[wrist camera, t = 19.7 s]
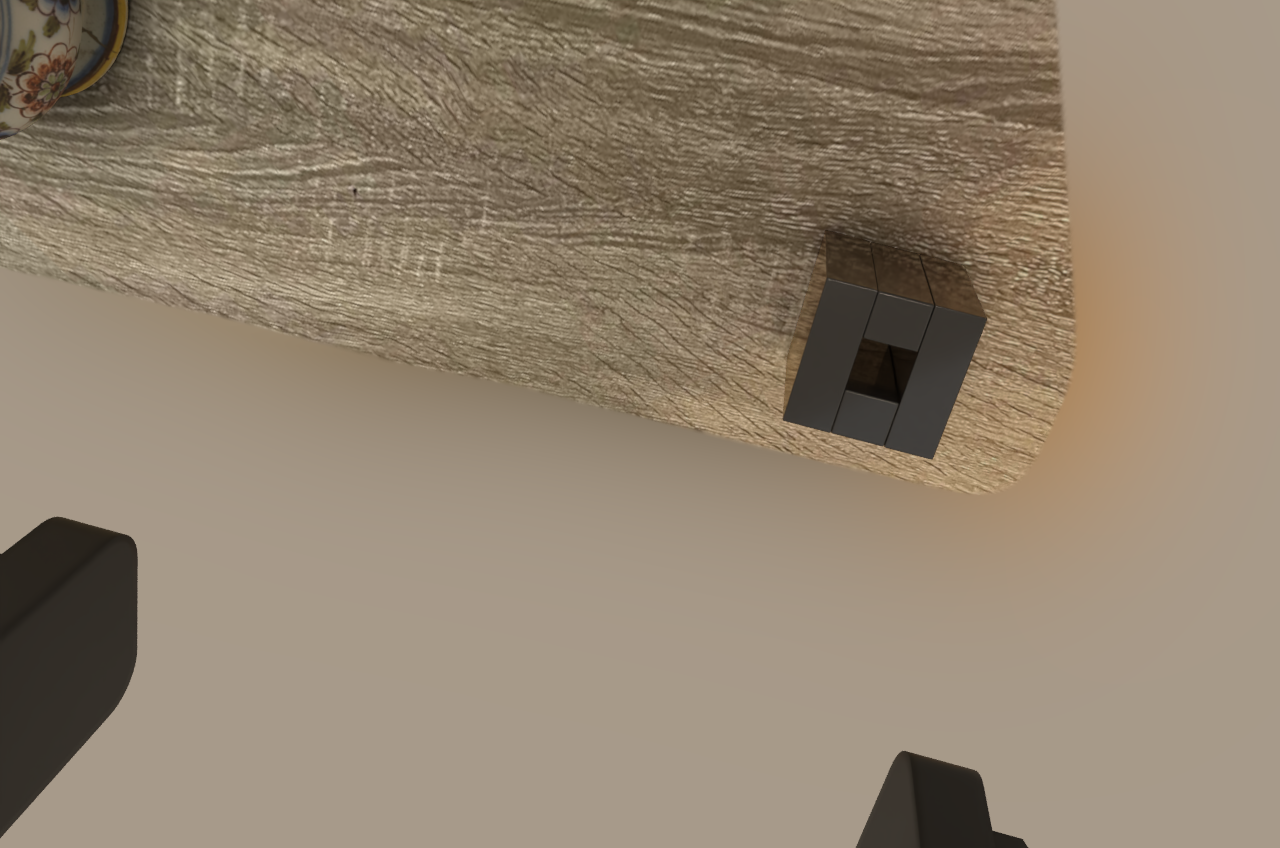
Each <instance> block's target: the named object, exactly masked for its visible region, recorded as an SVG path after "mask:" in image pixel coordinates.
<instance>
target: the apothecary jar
mask: <svg viewBox="0 0 1280 848" xmlns="http://www.w3.org/2000/svg"><path fill="white" fill-rule="evenodd" d="M127 23H128V0H0V140H1V139H4V138H7V137H10V136H12V135H14V134H16V133H18V132H20V131H22V130H24V129H26V128H27V127H29V126H31V125H32V124H33V123H35V122H36V121H37V120H39V119H40V118H41V117H42V116H43V115H44V114H46V113H47V112H48V111H49V110H50V108H51V107H52V106H53V105H54V104H55V103H56V102H57V100H58V99H59V98H60V97H63V96H68V95H72V94H75V93H78V92H81V91H83V90H85V89H86V88H88V87H90V86H91V85H93V84H94V83H95V82H97V81H98V80H99V79H100V78H101V77H103V76H104V75H105V74H106V72H107V71H108V70H109V69H110V67H111V66H112V64H113V63H114V61H115V59H116V57H117V55H118V53H119V52H120V50H121V48H122V44H123V41H124V38H125V34H126V29H127Z"/></svg>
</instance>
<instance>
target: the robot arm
mask: <svg viewBox="0 0 1280 848" xmlns="http://www.w3.org/2000/svg"><path fill="white" fill-rule="evenodd" d="M137 558H138V557H137V548H136V544H135V542H134V540H133V539H132V538H131V537H129V536H128V535H125V534H121V533H117V532H113V531H110V530H106V529H103V528H99V527H95V526H92V525H88V524H85V523H81V522H77V521H74V520H70V519H66V518H63V517H53V518H51V519H48V520H46V521H44V522H43V523H41V524H40V525H39V526H38V527H36V528H35V529H33V530H32V531H31V532H30V533H29V534H27V535H26V536H25V537H23V538H22V539H21V540H19V541H18V542H17V543H15V544H14V545H13V546H12V547H10V548H9V549H8V550H6V551H5V552H4V553H3V554H0V838H1V837H2V836H3V834H4V833H5V832H6V831H7V830H8V829H9V828H10V827H11V826H12V824H13V823H14V822H15V821H16V820H17V819H18V818H19V817H20V815H21V814H22V813H23V812H24V811H25V810H26V809H27V808H28V806H29V805H30V804H31V803H32V802H33V801H34V800H35V799H36V797H37V796H38V795H39V794H40V793H41V792H42V791H43V790H44V789H45V787H46V786H47V785H48V784H49V783H50V782H51V781H52V780H53V778H54V777H55V776H56V775H57V774H58V773H59V772H60V771H61V769H62V768H63V767H64V766H65V765H66V764H67V763H68V762H69V761H70V759H71V758H72V757H73V756H74V755H75V754H76V753H77V751H78V750H79V749H80V748H81V747H82V746H83V745H84V744H85V743H86V741H87V740H88V739H89V738H90V737H91V736H92V735H93V734H94V732H95V731H96V730H97V729H98V728H99V727H100V726H101V725H102V723H103V722H104V721H105V720H106V719H107V718H108V717H109V715H110V714H111V713H112V712H113V711H114V709H115V708H116V707H117V705H118V704H119V702H120V700H121V699H122V697H123V695H124V693H125V691H126V689H127V687H128V685H129V682H130V679H131V677H132V674H133V671H134V667H135V663H136V657H137V566H138V559H137ZM856 848H1028V847H1027V845H1026V844H1025V842H1024V841H1023V839H1020V838H1017V837H1013V836H1009V835H1006V834H1002V833H998V832H995V831H992V827H991V822H990V817H989V812H988V806H987V801H986V796H985V791H984V786H983V782H982V779H981V777H980V774H979V773H978V772H977V771H975V770H972V769H968V768H965V767H961V766H958V765H954V764H950V763H946V762H943V761H939V760H936V759H932V758H929V757H924V756H921V755H917V754H914V753H910V752H906V751H902V752H900V753H899V754H898V755H897V757H896V758H895V760H894V762H893V764H892V766H891V768H890V770H889V773H888V775H887V777H886V779H885V782H884V784H883V786H882V789H881V791H880V793H879V796H878V798H877V800H876V803H875V805H874V807H873V809H872V812H871V814H870V816H869V818H868V821H867V823H866V825H865V828H864V830H863V832H862V835H861V837H860V839H859V842H858V844H857V846H856Z"/></svg>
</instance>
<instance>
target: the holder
mask: <svg viewBox="0 0 1280 848" xmlns="http://www.w3.org/2000/svg"><path fill="white" fill-rule="evenodd" d="M986 321H987V317H986V315H985V313H984V310H983V308H982V306H981V303H980V301H979V299H978V296H977V294H976V292H975V289H974V287H973V285H972V282H971V280H970V278H969V275H968V273H967V271H966V268H965V266H964V265H961V264H957V263H953V262H949V261H946V260H942V259H938V258H934V257H930V256H926V255H922V254H920V255H919V254H917V253H913V252H909V251H905V250H901V249H897V248H894V247H890V246H886V245H882V244H878V243H874V242H871V243H870V241H867V240H863V239H859V238H855V237H851V236H847V235H844V234H840V233H836V232H832V231H828V230H826V231H825V233H824V236H823V240H822V243H821V246H820V250H819V253H818V256H817V259H816V263H815V266H814V269H813V273H812V276H811V279H810V282H809V286H808V289H807V292H806V296H805V299H804V302H803V306H802V309H801V312H800V315H799V319H798V322H797V325H796V329H795V332H794V335H793V338H792V342H791V345H790V348H789V352H788V355H787V363H786V377H785V392H784V406H783V420H784V421H787V422H791V423H795V424H799V425H802V426H806V427H810V428H814V429H818V430H821V431H825V432H829V433H830V432H831V433H834V434H837V435H841V436H845V437H849V438H853V439H856V440H860V441H864V442H868V443H872V444H875V445H879V446H884V447H886V448H890V449H893V450H897V451H901V452H905V453H909V454H912V455H916V456H920V457H924V458H928V459H933V457H934V455H935V452H936V449H937V447H938V444H939V442H940V439H941V437H942V434H943V431H944V429H945V426H946V424H947V421H948V419H949V416H950V413H951V411H952V408H953V406H954V403H955V401H956V398H957V395H958V393H959V390H960V388H961V385H962V383H963V380H964V378H965V375H966V372H967V370H968V367H969V365H970V362H971V360H972V357H973V354H974V352H975V349H976V347H977V344H978V342H979V339H980V336H981V334H982V331H983V329H984V326H985V324H986Z"/></svg>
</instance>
